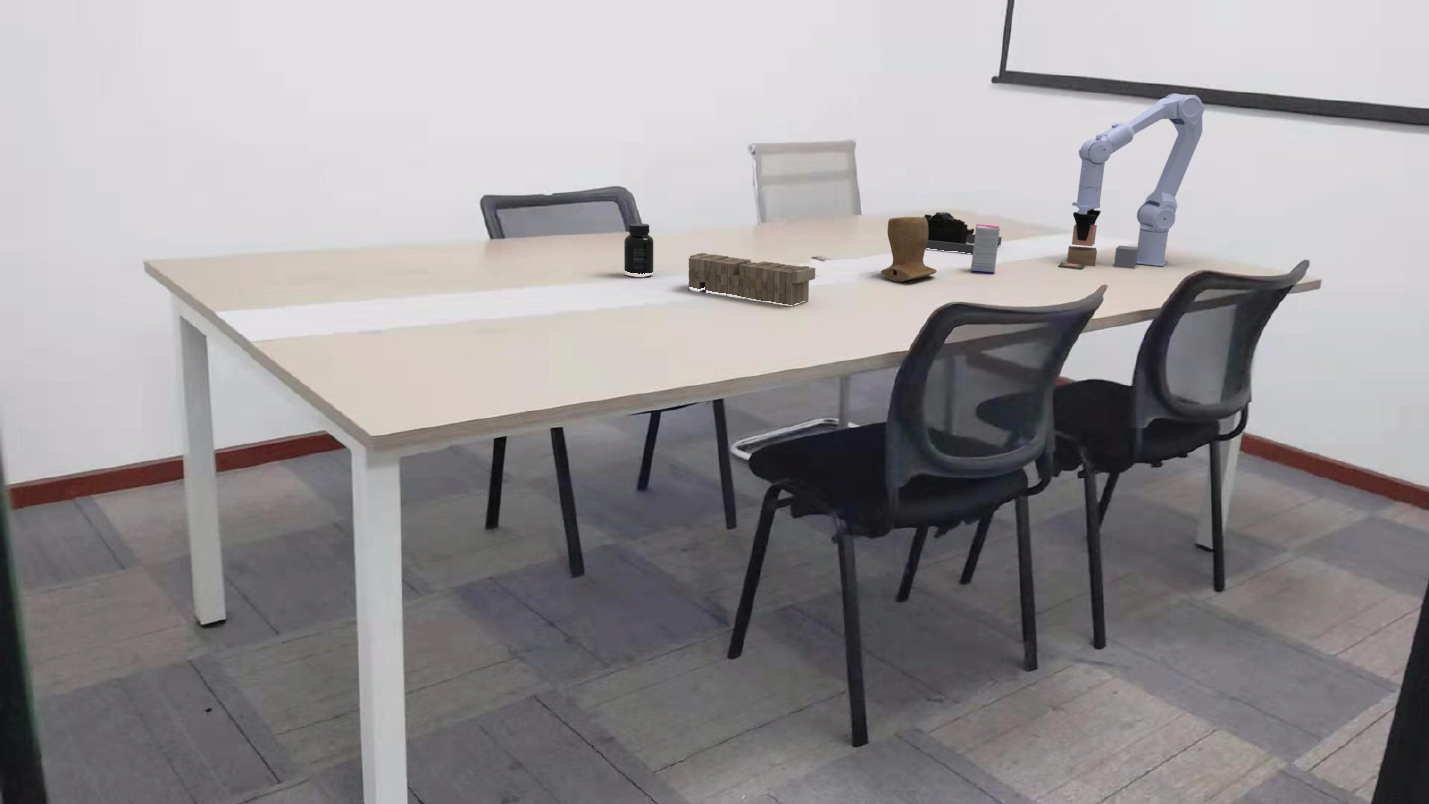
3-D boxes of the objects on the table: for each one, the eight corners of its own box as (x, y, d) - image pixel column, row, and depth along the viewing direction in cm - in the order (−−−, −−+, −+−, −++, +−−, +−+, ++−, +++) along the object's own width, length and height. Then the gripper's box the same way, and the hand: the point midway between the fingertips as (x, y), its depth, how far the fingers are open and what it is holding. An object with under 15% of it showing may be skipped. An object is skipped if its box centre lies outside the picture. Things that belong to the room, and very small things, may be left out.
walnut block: (1067, 260, 315) (1068, 245, 314) (1094, 262, 313) (1096, 247, 312) (1067, 265, 309) (1069, 249, 308) (1094, 267, 307) (1096, 252, 306)
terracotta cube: (1075, 242, 313) (1077, 223, 311) (1094, 243, 311) (1096, 225, 309) (1071, 244, 308) (1074, 225, 307) (1091, 246, 306) (1093, 227, 305)
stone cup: (899, 270, 292) (904, 210, 288) (942, 277, 285) (947, 215, 280) (867, 278, 281) (871, 215, 276) (910, 285, 274) (915, 221, 269)
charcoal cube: (1116, 264, 311) (1119, 245, 310) (1136, 266, 309) (1138, 247, 308) (1113, 267, 307) (1116, 248, 306) (1133, 269, 305) (1136, 250, 303)
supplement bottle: (658, 274, 277) (659, 224, 274) (644, 279, 271) (645, 227, 268) (632, 271, 280) (633, 221, 276) (618, 276, 274) (619, 224, 270)
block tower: (682, 294, 261) (796, 309, 246) (682, 257, 259) (797, 269, 244) (702, 289, 268) (814, 303, 252) (702, 252, 265) (815, 264, 250)
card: (1061, 264, 308) (1061, 261, 308) (1085, 266, 305) (1085, 264, 305) (1057, 267, 304) (1058, 264, 303) (1081, 269, 301) (1081, 267, 301)
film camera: (982, 248, 330) (986, 212, 327) (968, 254, 320) (971, 217, 317) (923, 241, 338) (925, 206, 336) (907, 247, 328) (909, 211, 325)
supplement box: (995, 274, 291) (999, 228, 287) (970, 272, 292) (975, 227, 289) (994, 270, 296) (999, 225, 293) (970, 268, 297) (975, 223, 294)
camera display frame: (919, 237, 344) (920, 229, 344) (1000, 245, 334) (1001, 237, 334) (898, 246, 327) (898, 237, 327) (983, 255, 317) (984, 246, 316)
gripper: (1079, 183, 313) (1073, 233, 317) (1069, 188, 301) (1063, 240, 305) (1106, 185, 310) (1100, 236, 314) (1097, 190, 298) (1091, 243, 302)
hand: (1083, 238), depth 309 cm, fingers closed on terracotta cube, 5 cm apart
